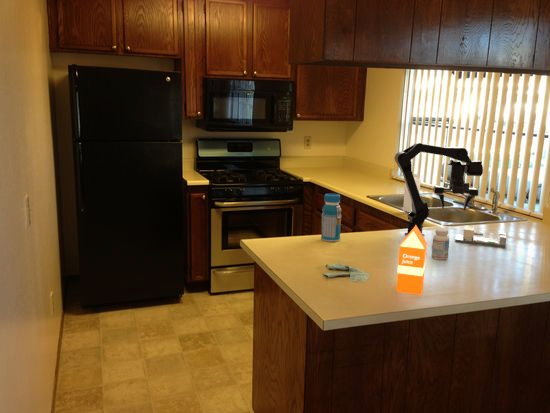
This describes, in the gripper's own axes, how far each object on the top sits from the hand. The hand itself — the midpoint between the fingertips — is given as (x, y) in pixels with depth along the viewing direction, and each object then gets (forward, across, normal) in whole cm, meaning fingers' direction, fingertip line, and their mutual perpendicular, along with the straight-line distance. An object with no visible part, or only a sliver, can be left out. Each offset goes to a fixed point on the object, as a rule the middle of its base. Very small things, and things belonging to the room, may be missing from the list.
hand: (453, 209), depth 224 cm
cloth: (+14, -47, -65) cm, 81 cm away
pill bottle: (+13, -10, -38) cm, 41 cm away
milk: (+13, -14, +50) cm, 54 cm away
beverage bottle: (+13, -53, -21) cm, 59 cm away
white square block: (+11, +8, -9) cm, 16 cm away
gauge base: (+12, +11, -9) cm, 19 cm away
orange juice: (+13, -24, -76) cm, 81 cm away
